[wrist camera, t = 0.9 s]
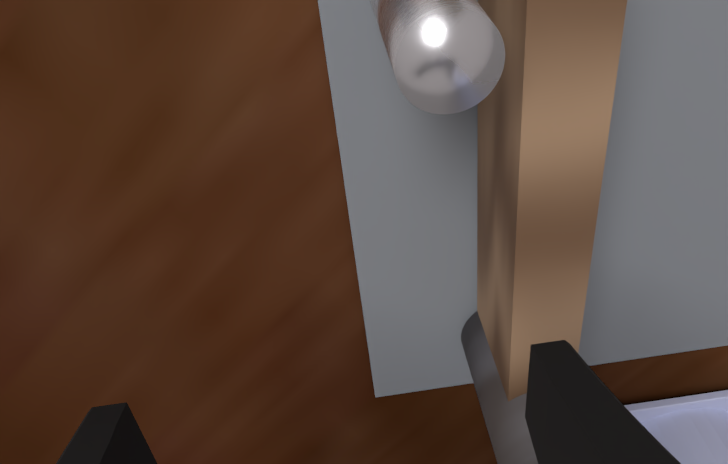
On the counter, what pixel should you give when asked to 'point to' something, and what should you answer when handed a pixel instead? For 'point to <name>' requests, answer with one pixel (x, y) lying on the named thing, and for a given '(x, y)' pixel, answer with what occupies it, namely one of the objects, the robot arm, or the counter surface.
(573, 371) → the robot arm
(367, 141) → the mat
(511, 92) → the bar
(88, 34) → the counter surface
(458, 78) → the hitch post
